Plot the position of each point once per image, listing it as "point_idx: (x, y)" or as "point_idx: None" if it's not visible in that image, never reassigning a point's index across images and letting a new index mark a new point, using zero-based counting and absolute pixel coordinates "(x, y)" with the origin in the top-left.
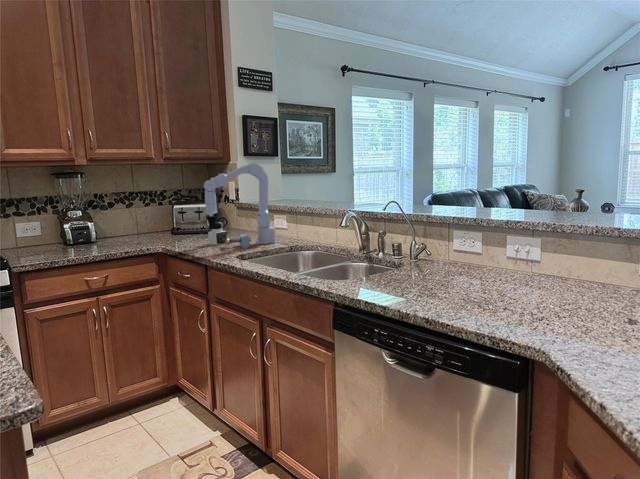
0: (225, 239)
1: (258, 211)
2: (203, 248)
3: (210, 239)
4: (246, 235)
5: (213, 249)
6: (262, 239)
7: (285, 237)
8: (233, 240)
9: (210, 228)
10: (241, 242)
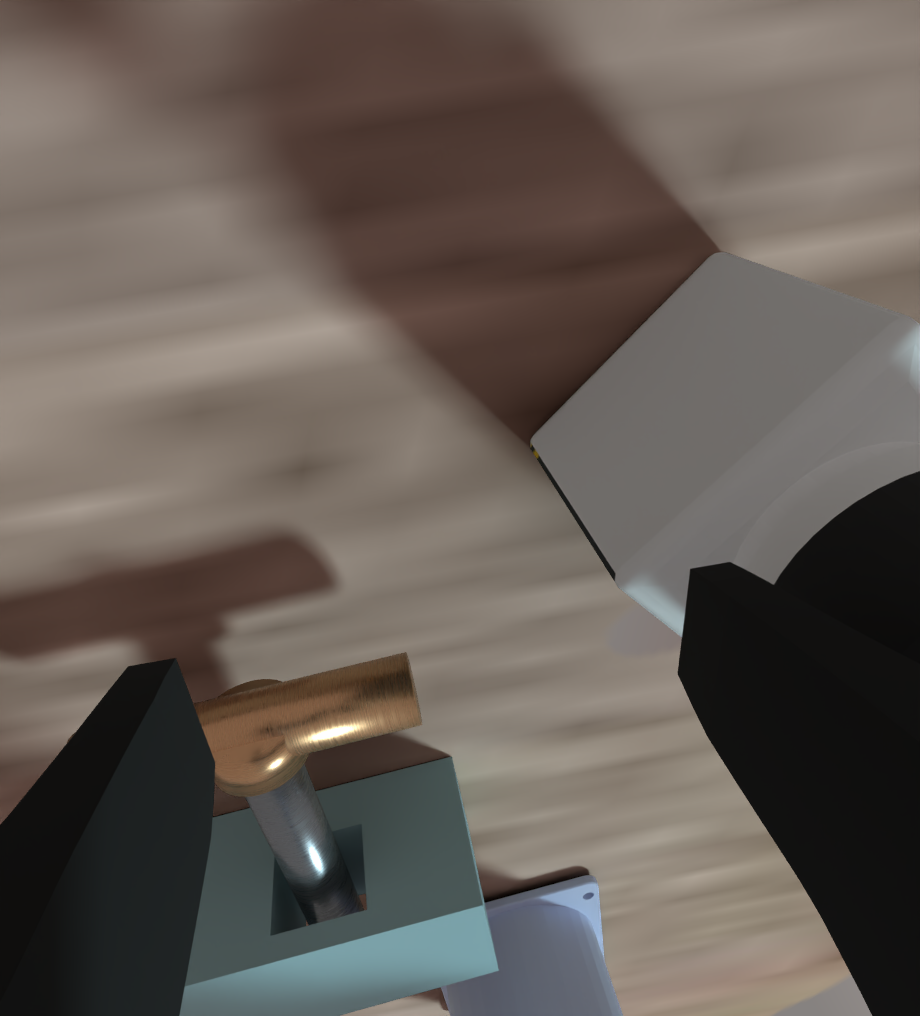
0: (338, 705)
1: None
2: (215, 201)
3: (715, 327)
4: (376, 993)
5: (76, 450)
6: (454, 1000)
7: (754, 1003)
8: (258, 819)
9: (111, 704)
10: (211, 889)
